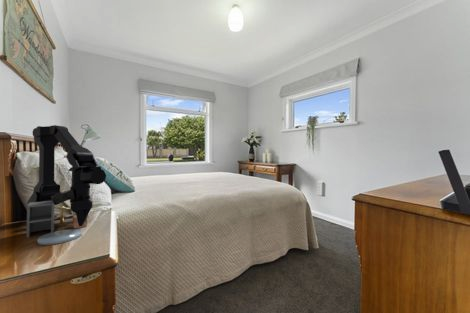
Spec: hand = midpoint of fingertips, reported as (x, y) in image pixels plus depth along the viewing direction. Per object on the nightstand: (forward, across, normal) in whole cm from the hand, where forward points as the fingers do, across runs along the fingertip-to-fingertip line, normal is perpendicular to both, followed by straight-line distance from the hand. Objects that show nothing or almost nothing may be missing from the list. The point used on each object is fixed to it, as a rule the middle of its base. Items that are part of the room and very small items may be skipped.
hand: (80, 223), depth 79 cm
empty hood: (+1, 0, -11) cm, 11 cm away
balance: (+1, -9, -6) cm, 11 cm away
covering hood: (-4, 0, -11) cm, 12 cm away
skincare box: (+1, -18, +1) cm, 18 cm away
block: (+1, 0, 0) cm, 1 cm away
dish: (+1, +11, -6) cm, 12 cm away
